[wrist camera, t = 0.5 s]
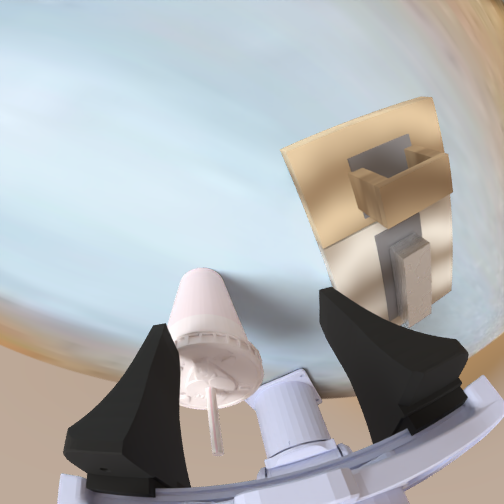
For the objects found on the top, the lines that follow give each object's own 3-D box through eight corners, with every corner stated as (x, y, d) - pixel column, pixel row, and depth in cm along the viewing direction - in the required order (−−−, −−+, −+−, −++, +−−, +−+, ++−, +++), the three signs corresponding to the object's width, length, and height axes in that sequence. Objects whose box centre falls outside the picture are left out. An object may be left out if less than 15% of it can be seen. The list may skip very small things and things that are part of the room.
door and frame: (443, 284, 29) (471, 309, 24) (350, 342, 30) (371, 378, 25) (420, 96, 18) (467, 100, 13) (279, 149, 19) (308, 162, 14)
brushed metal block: (419, 301, 26) (431, 313, 24) (398, 315, 26) (408, 328, 24) (414, 232, 22) (430, 242, 20) (388, 247, 22) (403, 259, 20)
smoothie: (174, 322, 24) (173, 473, 12) (153, 260, 21) (121, 425, 9) (245, 310, 25) (285, 458, 12) (234, 245, 22) (281, 406, 9)
